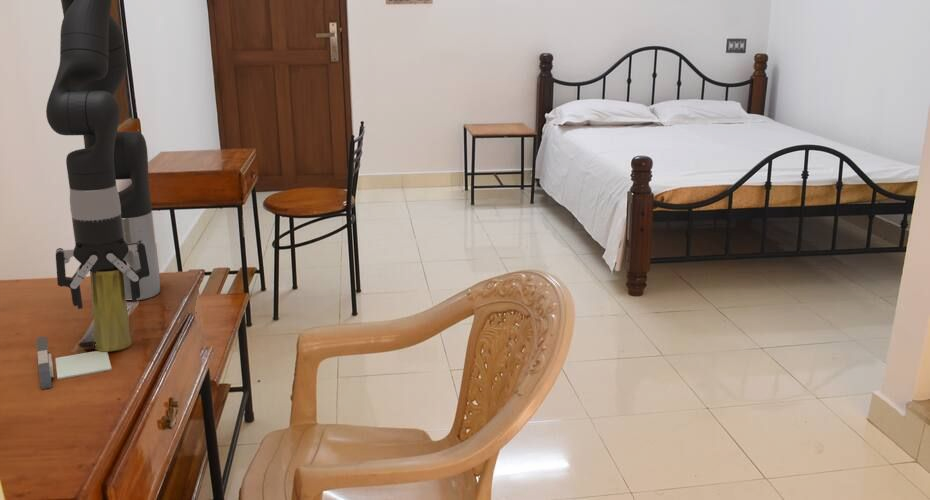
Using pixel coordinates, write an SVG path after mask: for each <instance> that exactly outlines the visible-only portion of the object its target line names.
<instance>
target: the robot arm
mask: <svg viewBox="0 0 930 500" xmlns="http://www.w3.org/2000/svg"><path fill="white" fill-rule="evenodd" d="M60 3H61V9H62V14H63V19H62V21H61V27H60V41H59V42H60V43H59V45H60V46H59V47H60V48H59V49H60V51H59V53H60V54H59V55H60V57H59V66H58V70H57V73H56V76H55V79H54V83H53V85H52V89H51V90H50V93H49V97H48V99H47V103H46V107H45V108H46V110H45V112H46V113H45V114H46V115H45V117H46V119H47V120H46V121H47V123H48V125H49V127H50V128H51V129H52V130H53V131H54V132H55V133H56V134H58V135H62V136H82V137H83V144H84V148H80V149H76V150H73V151H70V152H69V153H68V154H67V155H66V159H65V161H66V162H65V163H66V171H67V178H68V184H69V205H70V214H71V215H70V216H71V221H72V222H71V223H72V229H73V235H74V236H73V237H74V244H75V245H74V248H73V249H64V248H61V247H59V248H57V249H56V251H55V264H56V265H55V267H56V278H57V279H56V280H57V286H59V287H67V288H69V289H70V294H71V299H72V301H71V302H72V305H73V306H74V307H77V309H78V310H80V309H81V310H82V309H83V306H84V305H83V299H82V298H83V297H82V291H81V283H82V281H83V280H84V279H85V278H86V276H87V275H88V274H89V273H90V271H91V272H94V273H96V272H97V271H100V272H102V271H114V270H115V269H117V268H118V269H119V270H120V271H121V272H123V273H124V283H125V295H126V299H132V303H137V302H138V301H141V300H146V299H149V298H152V297H155V296H156V295H158V294H159V293H160V292H161V277H160V267H159V256H158V247H157V242H156V236H155V226H154V219H153V210H152V209H153V207H152V200H151V190H150V180H149V162H148V161H149V158H148V157H149V156H148V147H147V141H146V138H145V137H144V135H143V134H142V132H140V131H118V128H119V124H120V116H121V110H120V108H121V107H120V105H119V102H118V100H117V99H116V97H115V94H116V93H117V91H118V90H119V87H120V86H121V84H122V82H123V80H124V78H125V76H126V73H127V70H128V62H127V54H126V47H125V40H124V34H123V31H122V29H121V27H120V25H119V24H118V23H117V21H116V19H115V18H114V17H113V16H112V15H111V9H112V4H113V0H60ZM116 180H117V181H118V180H130V181H131V183H130V184H129V185H128V186H127V187H125V188H124V189H122V190H121V191H118V187H117V181H116ZM72 257H74V259H75V260H76V261H78V263H79V266H78V267H77V268H76V271H75V272H74V274H73V275H72V276H71V277H68V276H66V275H67V274H66V273H67V272H66V264H68V263H70V261H71V258H72ZM137 299H138V300H137Z"/></svg>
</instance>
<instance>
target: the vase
mask: <svg viewBox="0 0 930 500" xmlns="http://www.w3.org/2000/svg"><path fill="white" fill-rule="evenodd" d="M89 276H90V288H91V300H92V315H93V342H94V341H95V342H96V344H95V346H97V347H96V348H94V350H95V351H104V352H110V353H111V352H116V351H122V350H124V349H127V348H129V347H130V346H131V345H132V342H133V341H132V338H131V332H130V331H131V330H130V321H129V320H130V319H129V312H128V311H129V310H128V305H127V304H128V303H127V302H128V301H126V295H125V283H124V273H123V272H121V271H120V270H119V269H118V268H117V269H115V270H114V271H102V272H100V271H97V272H96V273H94V272H91V271H89Z"/></svg>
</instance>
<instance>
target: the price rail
mask: <svg viewBox="0 0 930 500" xmlns="http://www.w3.org/2000/svg"><path fill="white" fill-rule="evenodd" d="M35 340H36V349H37V352H36V353H37V366H38V377H39V382H40V388H41V390H47V389H51V388H53V383H52V378H54V377H55V376H54V366H53V359H52V354H51V353H49V352H50V351H49V346H48V339H47V336H41V337H36V339H35Z"/></svg>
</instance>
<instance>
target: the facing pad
mask: <svg viewBox="0 0 930 500" xmlns="http://www.w3.org/2000/svg"><path fill="white" fill-rule="evenodd" d="M55 368H56V376H57V380H63V379H69V378H75V377H80V376H85V375H92V374H96V373H97V374H98V373H101V372H108V371H112V370H113V369H112V365H111V361H110V357H109V353H108V352H104V351H99V350H95V351H89V352H83V353H77V354H71V355H66V356H64V355H63V356H60V357H55Z"/></svg>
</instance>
